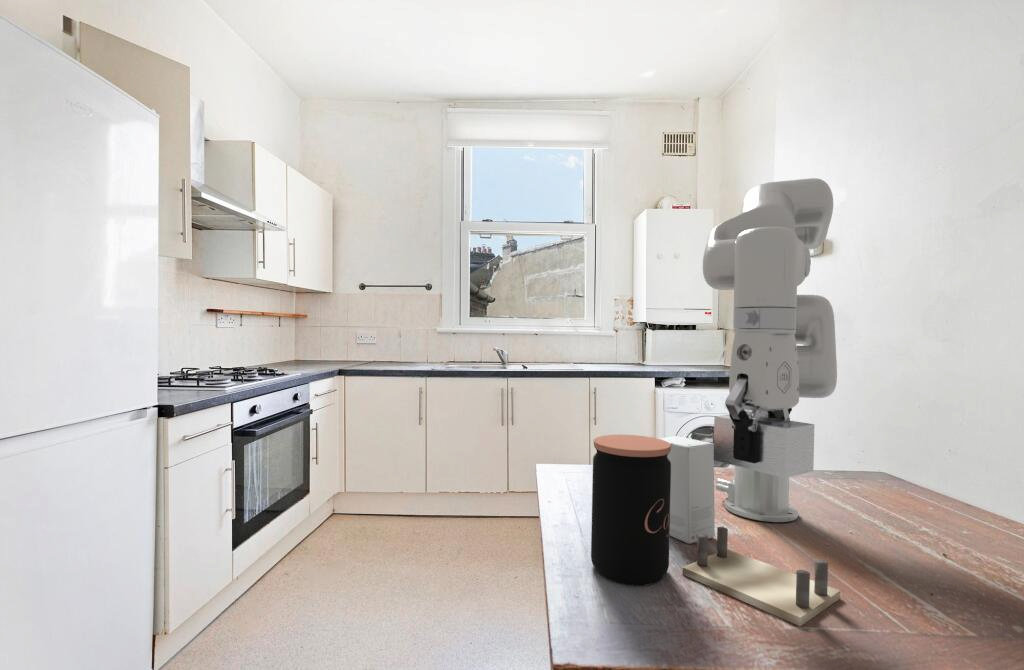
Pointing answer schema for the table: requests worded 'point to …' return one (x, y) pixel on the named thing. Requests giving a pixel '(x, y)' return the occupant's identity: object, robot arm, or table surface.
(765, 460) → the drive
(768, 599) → the cream peg board
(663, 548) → the coffee jar
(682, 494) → the skincare box
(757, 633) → the table surface
